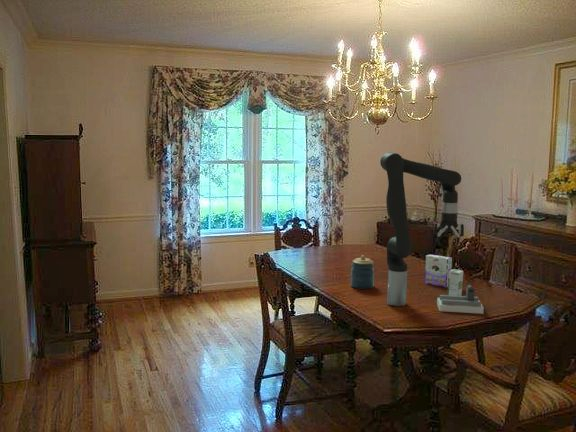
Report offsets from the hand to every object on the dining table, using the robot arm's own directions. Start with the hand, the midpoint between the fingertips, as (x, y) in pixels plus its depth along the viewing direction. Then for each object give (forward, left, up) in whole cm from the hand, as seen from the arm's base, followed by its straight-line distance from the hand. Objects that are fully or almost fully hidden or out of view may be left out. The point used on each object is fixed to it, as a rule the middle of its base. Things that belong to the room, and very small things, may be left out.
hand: (447, 244), depth 260 cm
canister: (-42, +23, -30) cm, 57 cm away
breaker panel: (+6, -8, -30) cm, 32 cm away
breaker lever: (+10, -8, -27) cm, 30 cm away
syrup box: (+6, +10, -30) cm, 32 cm away
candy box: (0, +35, -30) cm, 46 cm away
